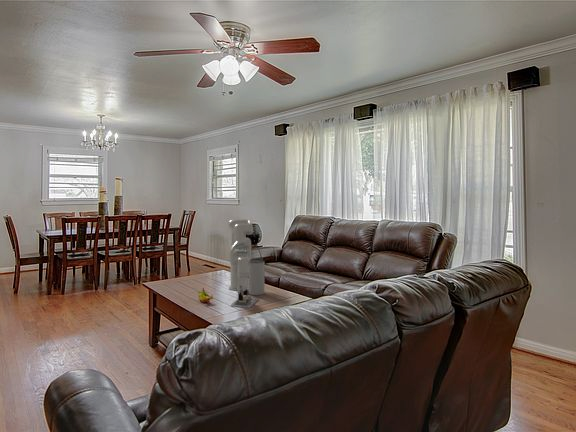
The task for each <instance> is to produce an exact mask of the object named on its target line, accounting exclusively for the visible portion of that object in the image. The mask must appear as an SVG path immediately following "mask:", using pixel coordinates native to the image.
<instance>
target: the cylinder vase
mask: <svg viewBox="0 0 576 432" xmlns="http://www.w3.org/2000/svg"><path fill="white" fill-rule="evenodd" d="M265 264H266V263H265V260H264V261H263V260H250V261H249V264H248V294H249V295H251V296H262V295H264V294H265V267H266V266H265Z"/></svg>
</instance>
